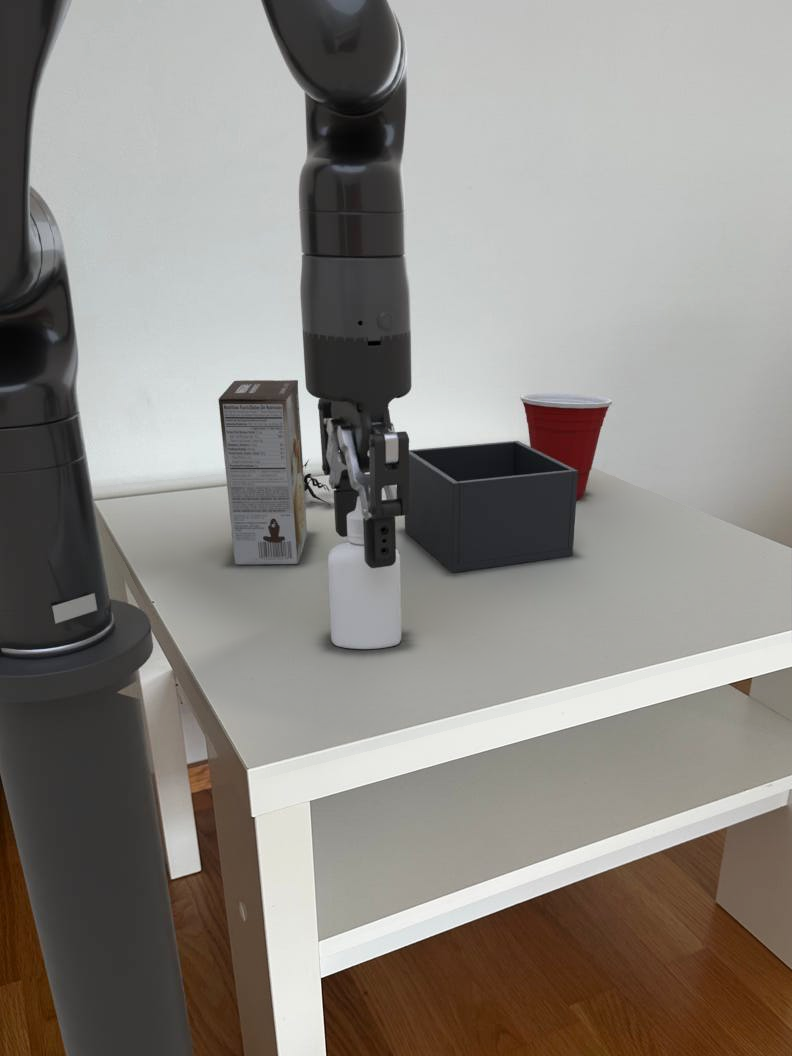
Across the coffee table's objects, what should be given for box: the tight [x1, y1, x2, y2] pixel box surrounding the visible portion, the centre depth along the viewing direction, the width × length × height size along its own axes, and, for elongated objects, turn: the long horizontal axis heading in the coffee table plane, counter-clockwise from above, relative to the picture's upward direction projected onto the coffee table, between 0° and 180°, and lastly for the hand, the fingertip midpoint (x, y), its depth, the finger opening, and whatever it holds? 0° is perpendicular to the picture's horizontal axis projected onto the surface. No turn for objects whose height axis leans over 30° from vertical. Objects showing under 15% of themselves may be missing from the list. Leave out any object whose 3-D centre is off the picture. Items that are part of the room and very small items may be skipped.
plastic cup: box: [519, 392, 613, 501], centre depth 112 cm, size 11×11×12 cm
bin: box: [404, 440, 578, 574], centre depth 96 cm, size 13×13×9 cm
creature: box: [303, 459, 331, 506], centre depth 108 cm, size 8×5×8 cm
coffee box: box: [218, 379, 308, 566], centre depth 91 cm, size 9×6×16 cm
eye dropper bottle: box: [327, 496, 402, 650], centre depth 73 cm, size 4×6×12 cm
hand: (364, 549), depth 72 cm, fingers open, 7 cm apart
